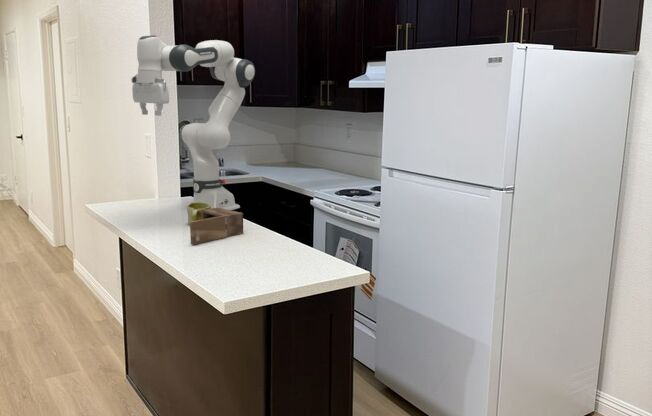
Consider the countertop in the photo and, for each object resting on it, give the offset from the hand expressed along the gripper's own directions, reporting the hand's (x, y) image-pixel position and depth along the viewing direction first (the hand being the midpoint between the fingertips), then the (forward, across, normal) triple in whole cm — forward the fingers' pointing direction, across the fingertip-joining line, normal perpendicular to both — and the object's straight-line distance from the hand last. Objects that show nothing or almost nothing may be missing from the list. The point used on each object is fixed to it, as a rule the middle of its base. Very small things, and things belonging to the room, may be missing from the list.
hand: (151, 115), depth 229 cm
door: (+43, -37, +1) cm, 57 cm away
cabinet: (+44, -29, -11) cm, 53 cm away
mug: (+44, -13, -12) cm, 47 cm away
